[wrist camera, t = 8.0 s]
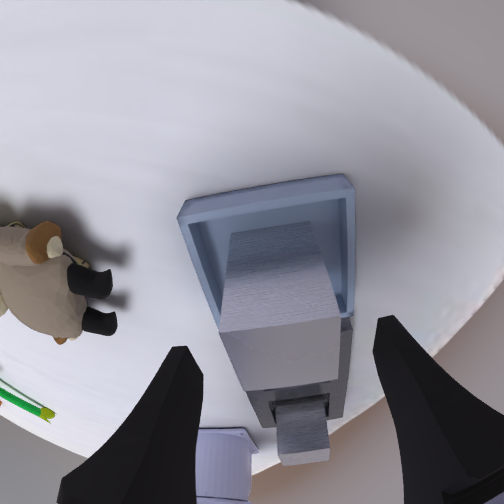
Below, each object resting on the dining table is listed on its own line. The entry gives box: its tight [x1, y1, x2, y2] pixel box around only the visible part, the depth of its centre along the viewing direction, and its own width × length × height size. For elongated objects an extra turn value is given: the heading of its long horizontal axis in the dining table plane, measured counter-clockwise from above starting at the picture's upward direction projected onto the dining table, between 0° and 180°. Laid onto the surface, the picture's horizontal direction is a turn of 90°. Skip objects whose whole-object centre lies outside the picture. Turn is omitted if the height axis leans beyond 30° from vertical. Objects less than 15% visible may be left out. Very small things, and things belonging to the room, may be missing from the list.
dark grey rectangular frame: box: [246, 317, 353, 428], centre depth 22 cm, size 14×8×2 cm, turn 11°
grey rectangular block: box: [275, 394, 330, 466], centre depth 22 cm, size 4×4×6 cm
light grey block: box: [219, 221, 341, 391], centre depth 13 cm, size 4×4×6 cm
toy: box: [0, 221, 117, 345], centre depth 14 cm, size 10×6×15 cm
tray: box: [177, 174, 356, 329], centre depth 15 cm, size 8×8×2 cm
